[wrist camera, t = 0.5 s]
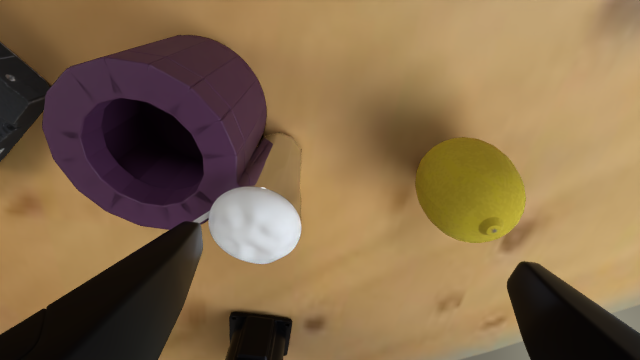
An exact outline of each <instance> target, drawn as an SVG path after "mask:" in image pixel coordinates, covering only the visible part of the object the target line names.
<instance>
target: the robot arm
mask: <svg viewBox="0 0 640 360" xmlns="http://www.w3.org/2000/svg"><path fill="white" fill-rule="evenodd" d="M202 249H203V241H202V231H201V225H200V224H199V223H198V222H190V221H184V222H182V223H180V224H179V225H177V226H175V227H174V228H172V229H170V230H169V231H167V232H166V233H164V234H162V235H161V236H159V237H158V238H156V239H154V240H153V241H151V242H150V243H148V244H146V245H145V246H143V247H142V248H140V249H138V250H137V251H135V252H133V253H132V254H130V255H129V256H127V257H125V258H124V259H122V260H121V261H119V262H117V263H116V264H114V265H113V266H111V267H109V268H108V269H106V270H105V271H103V272H101V273H100V274H98V275H96V276H95V277H93V278H92V279H90V280H88V281H87V282H85V283H84V284H82V285H80V286H79V287H77V288H76V289H74V290H72V291H71V292H69V293H68V294H66V295H64V296H63V297H61V298H59V299H58V300H56V301H55V302H53V303H51V304H50V305H48V306H47V308H46V309H42V310H40V311H38V312H37V313H35V314H33V315H32V316H30V317H29V318H27V319H25V320H24V321H22V322H21V323H19V324H17V325H16V326H14V327H12V328H11V329H9V330H7V331H6V332H4V333H2V334H1V335H0V360H158V358H159V356H160V354H161V352H162V350H163V348H164V346H165V344H166V342H167V339H168V337H169V335H170V333H171V331H172V329H173V327H174V325H175V323H176V321H177V318H178V316H179V314H180V312H181V310H182V307H183V305H184V303H185V300H186V297H187V294H188V292H189V289H190V286H191V283H192V280H193V277H194V274H195V271H196V268H197V265H198V262H199V260H200V257H201V254H202ZM507 290H508V293H509V297H510V300H511V303H512V306H513V310H514V313H515V316H516V319H517V323H518V326H519V329H520V332H521V335H522V338H523V341H524V344H525V347H526V349H527V352H528V354H529V357H530V359H531V360H640V333H638V332H637V331H635V330H634V329H632V328H631V327H629V326H628V325H627V324H625V323H624V322H622V321H621V320H619V319H618V318H616V317H615V316H614V315H612V314H611V313H609V312H608V311H606V310H605V309H603V308H602V307H601V306H599V305H598V304H596V303H595V302H593V301H592V300H590V299H589V298H588V297H586V296H585V295H583V294H582V293H580V292H579V291H577V290H576V289H574V288H573V287H572V286H570V285H569V284H567V283H566V282H564V281H563V280H561V279H560V278H559V277H557V276H556V275H554V274H553V273H551V272H550V271H548V270H547V269H545V268H544V267H543V266H541V265H540V264H538V263H534V262H525V261H523V262H520V263H519V264H518V265H517V267H516V268H515V270H514V271H513V273H512V274H511V276H510V277H509V279H508V281H507ZM229 321H230V345H229V349H228V352H227V356H226V359H225V360H283V356H285V355H287V351H288V345H289V339H290V333H291V327H292V320H291V319H288V318H280V317H272V316H264V315H256V314H248V313H240V312H232V313H231V314H230V318H229Z"/></svg>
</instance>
